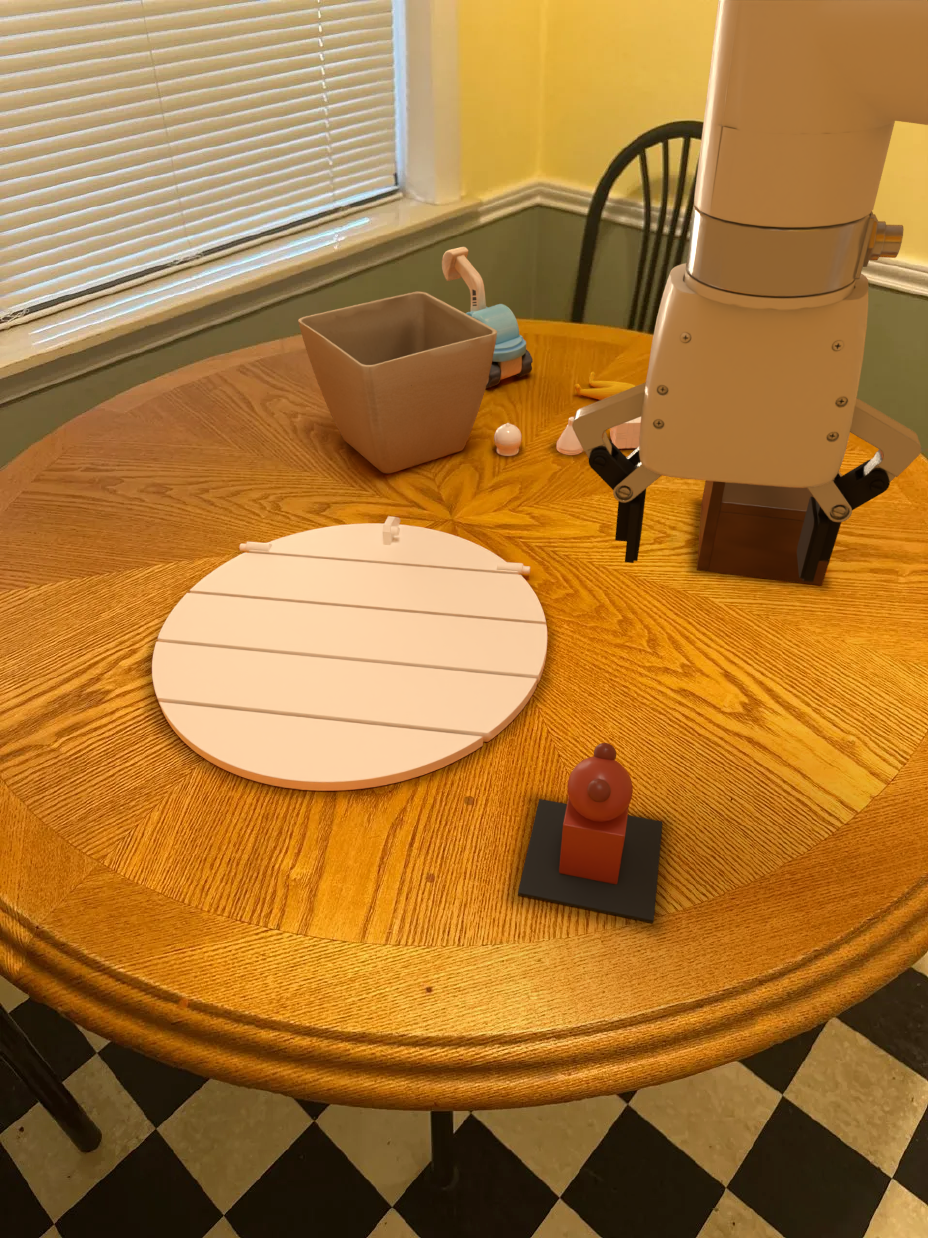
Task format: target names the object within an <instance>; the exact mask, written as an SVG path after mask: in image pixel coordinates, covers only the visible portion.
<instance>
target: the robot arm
mask: <svg viewBox="0 0 928 1238" xmlns="http://www.w3.org/2000/svg"><path fill="white" fill-rule="evenodd" d="M703 116H704V117H703V124H702V132H701V139H700V148H699V156H698V164H697V170H696V179H695V181H696V182H695V188H694V198H693V205H692V206H693V207H692V213H691V214H692V215H691V223H690V231H689V238H688V246H687V247H688V248H687V257H686V262H685V263H684V262H683V263H681V264H678V265H676V266H673V268H671V270H670V272H669V274H668V277H667V280H666V283H665V286H664V290H663V293H662V296H661V300H660V304H659V308H658V313H657V316H656V320H655V325H654V331H653V336H652V341H651V346H650V354H649V361H648V366H647V372H646V379H645V382H643V383H641V384H638V385H635V387H633V388H630V389H628V390H625V391H623V392H620V393H618V394H615V395H613V396H610V397H608V398H605V399H603V400H598V401H596V402H593V403H590V404H588V405H585V406H582V407H580V408H579V409H577V410H576V412H575V414H574V416H573V417H574V420H573V424H572V427H573V430H574V432H575V434H576V436H577V438H578V440H579V442H580V444H581V446H582V448H583V452H584V453H585V454H586V457H587V458H588V465H589V466H590V469H592V471H594V472H595V474H596V475H598V476H599V478H601V480H602V481H604V482H605V483H606V484H607V486H608V487H609V488H610V489H611V490H612V495H613V498H614V499H615V500H616V501H617V502H618V503H617V511H616V512H617V514H616V523H615V524H616V525H615V536H614V540H615V541H616V542H617V541H618V542H626V545H625V553H624V554H625V555H624V563H628V564H634V563H635V562H638V560H639V553H640V546H641V545H640V544H641V540H642V539H641V538H642V531H643V522H644V513H645V504H646V495H647V488H648V487H650V486H651V485H652V484H653V483H655V481H657V480H659V478H660V477H662V476H663V477H668V478H674V479H675V478H676V479H685V480H696V481H716V482H728V483H740V484H752V485H765V486H777V487H792V488H808V490H809V491H810V493H811V494H812V495H813V497H810V499H809V503H808V507H807V511H806V515H805V519H804V523H803V527H802V531H801V535H800V539H799V543H798V547H797V560H798V571H799V578H802V580H803V581H807V582H813V581H814V577H815V574H816V570H817V566H818V563H819V561H823V562H829V563H830V561H831V558H832V555H831V554H833V551H834V548H835V545H834V543H835V544H836V542H835V540H836V541H837V539H836V536H837V537H838V535H837V533H838V534H839V532H838V529H839V526H840V522H841V523H842V522H846V521H847V520H849V519H850V518H851V516H852V514H853V511H854V510H855V509H857V508H859V507H861V506H863V505H864V504H866V503H867V502H869V501H871V500H873V499H875V498H876V497H878V496H880V495H881V494H883V493H885V492H886V491H887V490H888V489H889V487H890V484H891V482H892V481H893V480H894V479H895V478H897V477H899V476H900V475H901V474H902V473H903V472H904V471H905V470H906V469H907V468H908V467H909V466H910V465H911V464H912V463H913V462H914V461H915V460H916V459H917V458H918V457H919V456H920V454H921V453H922V449H923V448H922V446H921V442H920V440H919V439H920V438H919V437H918V434H917V433H916V432H915V431H914V430H912V429H911V428H908V427H907V426H905V425H904V424H902V423H900V422H899V421H897V420H895V419H893V418H892V417H890V416H889V415H887V414H885V413H884V412H882V411H880V410H878V409H876V408H875V407H873V406H872V405H869V404H868V403H866V402H865V401H863V400H861V399H860V398H858V393H859V392H858V391H859V385H860V379H861V374H862V373H861V372H862V368H863V361H864V354H865V353H864V352H865V344H866V336H867V335H866V334H867V328H868V315H869V279H868V278H867V276H866V275H864V274H863V273H862V271H863V268H867V267H868V265H869V263H870V261H878V260H879V259H880V258H885V259H887V258H888V259H889V258H890V259H896V258H897V257H898V256H899V253H900V250H901V247H902V243H903V238H904V226H903V224H887V222H886V221H885V220H878V217H877V216H876V214H875V213H874V212H873V210H874V208H875V204H876V199H877V196H878V193H879V188H880V183H881V180H882V176H883V171H884V168H885V163H886V161H887V160H886V159H887V155H888V151H889V147H890V144H891V139H892V135H893V130H894V126H895V122H902V123H911V124H919V125H924V126H928V0H718V1H717V9H716V16H715V25H714V33H713V42H712V50H711V58H710V66H709V74H708V83H707V91H706V100H705V108H704V115H703ZM638 417H641V424H640V438H639V447H638V448H634V450H633V451H632V452H631V453H630V454H629V455H627V456H626V455H625V454H624V453H623V452H622V451H621V450H620V449H618V448H617V447H616V446H615V445H614V444H613V443H612V440H611V439H609V437H608V433H607V430H610V429H611V428H612V427H615V426H617V425H620V424H623V423H625V422H628V421H631V420H633V419H636V418H638ZM850 434H852V435H854V436H856V437H857V438H859V439H861V440H863V441H864V442H866V443H868V444H870V445H871V446H873V447H875V448H876V449H877V451H876V452H875V453H874V456H873V457H872V458H871V459H868V460H865V461H864V462H862V463H861V464H859V465H857V466H856V467H854V468H853V469H851V470H849V471H848V472H846V473H844V474H842V473H841V471H840V469H841V467H842V464H843V461H844V458H845V454H846V451H847V447H848V443H849V438H850ZM840 527H841V526H840ZM839 530H840V529H839ZM833 547H834V548H833ZM832 550H833V551H832ZM830 557H831V558H830ZM829 560H830V561H829Z"/></svg>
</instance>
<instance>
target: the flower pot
mask: <svg viewBox="0 0 928 1238" xmlns="http://www.w3.org/2000/svg"><path fill="white" fill-rule="evenodd" d="M297 322H298V326H299V331H300V335H301V337H302V341H303V343H304V344H303V345H304V347H305V349H306V354H307V356H308V359H309V362H310V365H311V368H312V371H313V373H314V376H315V379H316V382H317V384H318V388H319V389H320V392H321V394H322V397H323V400H324V401H325V404H326V406H327V408H328V411H329V413H330V416H331V417H332V419H333V421H334V424H335V425H336V428H337V429H338V431H339V433H340V436H342V439H343V441H345V442H346V443H347V444H348V445H349V446H351V447H352V448H353V449H354V450H355V451H356V452H357V453H358V454H360V455H361V456H362V457H363V458H364V459H365V460H367V461H368V462H369V463H370V464H371V465H372V466H374V467H375V468H376V469H377V470H378V471H379V472H381V473H383V474H393V473H396V472H400V471H402V470H405V469H408V468H412V467H415V466H418V465H421V464H424V463H427V462H430V461H431V462H432V461H434V460H437V459H440V458H443V457H447V456H449V455H452V454H456V453H459V452H461V451H463V450H464V449H465V446H466V444H467V442H468V440H469V437H470V435H471V432H472V431H473V428H474V425H475V422H476V419H477V416H478V413H479V411H480V408H481V405H482V401H483V399H484V395H485V392H486V389H487V388H486V385H487V381H488V377H489V373H490V368H491V364H492V359H493V354H494V349H495V344H496V337H497V331H496V330H495V329H493V328H491V327H489V326H488V325H486V324H484V323H482V322H480V321H478V320H476V319H475V318H473V317H471V316H469V315H467V314H466V313H465V312H464V311H461V310H460V309H458V308H456V307H454V306H453V305H450V304H448V303H446V302H445V301H443V300H441V299H439V298H437V297H435V296H433V295H432V294H430V293H428V292H426V291H419V290H418V291H413V292H408V293H403V294H399V295H395V296H389V297H384V298H380V299H376V300H371V301H369V302H368V301H367V302H363V303H359V304H353V305H349V306H345V307H341V308H337V309H333V310H328V311H324V312H319V313H314V314H311V315H306V316H303V317H299V318H298V320H297Z"/></svg>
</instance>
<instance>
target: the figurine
mask: <svg viewBox="0 0 928 1238" xmlns="http://www.w3.org/2000/svg"><path fill="white" fill-rule="evenodd" d="M595 378H596V373H595V372H594V371H591V372H590V373H589V378H588V381H589V385H590V386H591V387H593V388H582V387H581V385H580V384H579V383H575V384H574V388H575V391H576V393H578V395H580V396H584V397H587V398H591V399H594V400H595V399H596V400H598V401H600V400H603V399H605V398H608V397H610V396H613V395H615V394H618V393H620V392H623V391H625V390H628V389H630V388H633V387H635V386H636V385H635V384H632V383H630V382H625V381H623V382H622V381H613V380H595Z"/></svg>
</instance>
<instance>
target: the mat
mask: <svg viewBox="0 0 928 1238" xmlns="http://www.w3.org/2000/svg"><path fill="white" fill-rule="evenodd" d="M566 807H567V803H565V802H558V801H553V800H547V799H542V798H539V799H538V803H537V808H536V812H535V816H534V821H533V825H532V829H531V834H530V838H529V843H528V846H527V851H526V857H525V859H524V864H523V869H522V873H521V878H520V882H519V886H518V891H517V895H518V897H519V896H520V897H525V898H529V899H533V900H534V899H535V900H539V901H543V902H549V903H554V904H559V905H563V906H568V907H573V908H578V909H583V910H588V911H592V912H596V913H601V914H606V915H612V916H616V917H622V918H626V919H631V920H634V921H635V920H636V921H639V922H640V921H641V922H646V923H649V924H654V922H655V912H656V899H657V892H658V891H657V890H658V879H659V866H660V855H661V844H662V834H663V833H662V832H663V821H661V820H657V819H653V818H651V819H650V818H647V817H646V818H645V817H641V816H635V815H629V814H628V817H627V824H626V832H625V839H624V845H623V851H622V858H621V864H620V870H619V876H618V882H617V884H611V883H606V882H601V881H596V880H591V879H586V878H581V877H576V876H571V875H567V874H562V873H559V866H560V855H561V844H562V832H563V823H564V818H565V813H566Z"/></svg>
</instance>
